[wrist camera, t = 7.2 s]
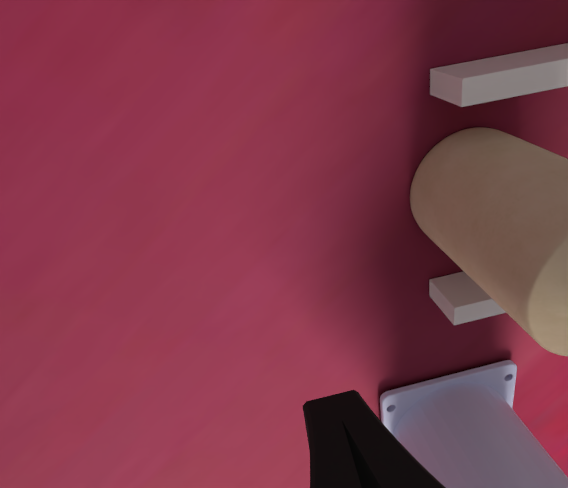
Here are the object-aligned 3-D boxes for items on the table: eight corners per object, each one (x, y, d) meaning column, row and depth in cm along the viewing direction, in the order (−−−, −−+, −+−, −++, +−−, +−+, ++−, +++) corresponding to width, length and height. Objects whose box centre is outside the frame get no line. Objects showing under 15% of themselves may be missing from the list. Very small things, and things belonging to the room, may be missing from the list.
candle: (543, 173, 23) (773, 287, 14) (457, 260, 24) (619, 413, 15) (473, 98, 20) (698, 178, 12) (383, 199, 22) (523, 339, 13)
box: (608, 253, 26) (648, 277, 23) (429, 295, 25) (453, 325, 22) (655, 26, 20) (712, 30, 18) (430, 68, 19) (462, 78, 17)
